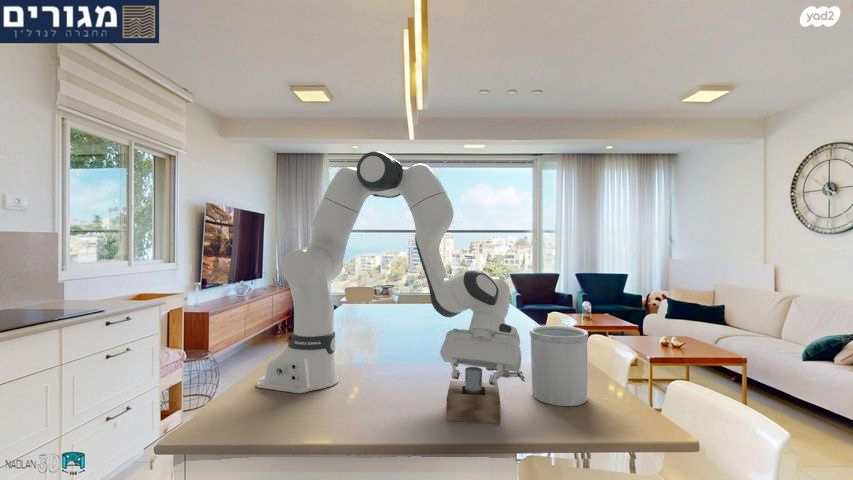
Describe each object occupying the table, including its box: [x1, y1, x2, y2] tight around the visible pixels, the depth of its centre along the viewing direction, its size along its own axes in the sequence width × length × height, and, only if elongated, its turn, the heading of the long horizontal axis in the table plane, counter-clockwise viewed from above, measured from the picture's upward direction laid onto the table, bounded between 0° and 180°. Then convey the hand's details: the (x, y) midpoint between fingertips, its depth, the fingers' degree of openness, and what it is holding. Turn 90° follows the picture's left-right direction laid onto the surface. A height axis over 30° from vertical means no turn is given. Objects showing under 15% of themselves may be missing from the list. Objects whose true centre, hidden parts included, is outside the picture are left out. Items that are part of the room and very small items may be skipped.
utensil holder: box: [529, 324, 589, 407], centre depth 108 cm, size 15×15×18 cm
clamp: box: [486, 368, 526, 380], centre depth 128 cm, size 15×2×10 cm
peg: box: [464, 366, 483, 395], centre depth 98 cm, size 4×4×10 cm
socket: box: [445, 380, 501, 425], centre depth 98 cm, size 12×12×5 cm
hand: (473, 380), depth 97 cm, fingers open, 8 cm apart
